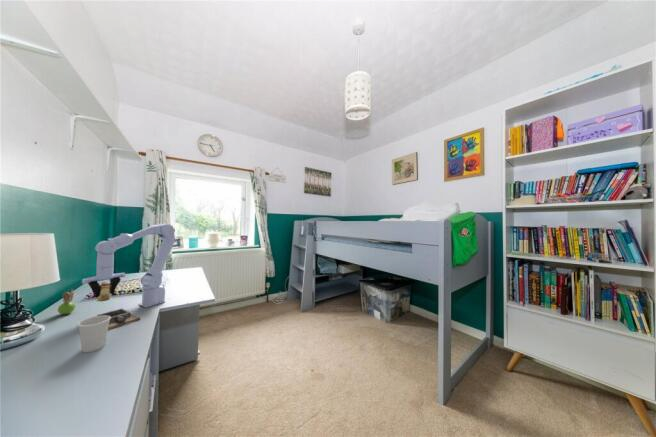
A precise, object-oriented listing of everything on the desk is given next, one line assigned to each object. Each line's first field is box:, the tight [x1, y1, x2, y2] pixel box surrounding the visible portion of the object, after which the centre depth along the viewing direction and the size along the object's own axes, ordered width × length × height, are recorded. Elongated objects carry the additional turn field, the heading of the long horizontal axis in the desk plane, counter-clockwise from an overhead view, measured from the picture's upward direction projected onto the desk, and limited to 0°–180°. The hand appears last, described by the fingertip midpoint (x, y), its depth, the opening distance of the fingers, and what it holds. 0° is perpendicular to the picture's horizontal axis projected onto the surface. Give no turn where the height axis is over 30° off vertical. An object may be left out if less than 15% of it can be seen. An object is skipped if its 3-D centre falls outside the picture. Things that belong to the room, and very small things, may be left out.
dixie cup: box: [76, 315, 111, 353], centre depth 81 cm, size 8×8×10 cm
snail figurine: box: [57, 288, 76, 315], centre depth 107 cm, size 5×6×12 cm
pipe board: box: [96, 307, 141, 330], centre depth 102 cm, size 12×16×3 cm
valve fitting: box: [96, 281, 112, 302], centre depth 105 cm, size 5×5×8 cm
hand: (104, 295), depth 105 cm, fingers closed on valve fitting, 5 cm apart
